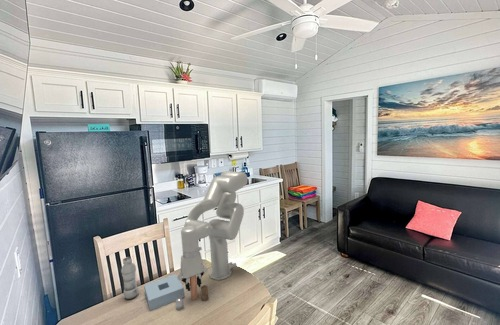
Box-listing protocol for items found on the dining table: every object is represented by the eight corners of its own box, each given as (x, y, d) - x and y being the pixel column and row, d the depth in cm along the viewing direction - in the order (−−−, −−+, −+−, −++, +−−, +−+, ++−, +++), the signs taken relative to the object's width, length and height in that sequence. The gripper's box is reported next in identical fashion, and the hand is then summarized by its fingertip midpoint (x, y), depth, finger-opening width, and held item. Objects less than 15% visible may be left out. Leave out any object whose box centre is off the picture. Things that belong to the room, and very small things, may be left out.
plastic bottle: (121, 298, 122) (116, 260, 119) (133, 290, 128) (128, 254, 125) (129, 302, 119) (125, 263, 116) (141, 293, 125) (137, 256, 122)
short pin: (182, 304, 116) (181, 295, 116) (184, 308, 114) (183, 299, 113) (175, 307, 115) (174, 298, 114) (177, 311, 112) (176, 302, 111)
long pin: (196, 294, 123) (194, 271, 121) (198, 297, 120) (196, 275, 119) (190, 296, 121) (188, 274, 120) (192, 300, 119) (190, 277, 117)
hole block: (176, 282, 133) (176, 274, 132) (184, 297, 121) (183, 287, 121) (145, 293, 125) (144, 284, 124) (150, 310, 113) (148, 300, 112)
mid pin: (207, 295, 122) (206, 284, 121) (209, 299, 119) (208, 287, 118) (200, 298, 120) (200, 286, 119) (203, 302, 117) (202, 290, 116)
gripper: (204, 244, 125) (207, 277, 128) (170, 254, 116) (174, 290, 119) (210, 250, 119) (212, 285, 121) (175, 261, 110) (178, 298, 113)
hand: (193, 287), depth 120 cm, fingers open, 4 cm apart
